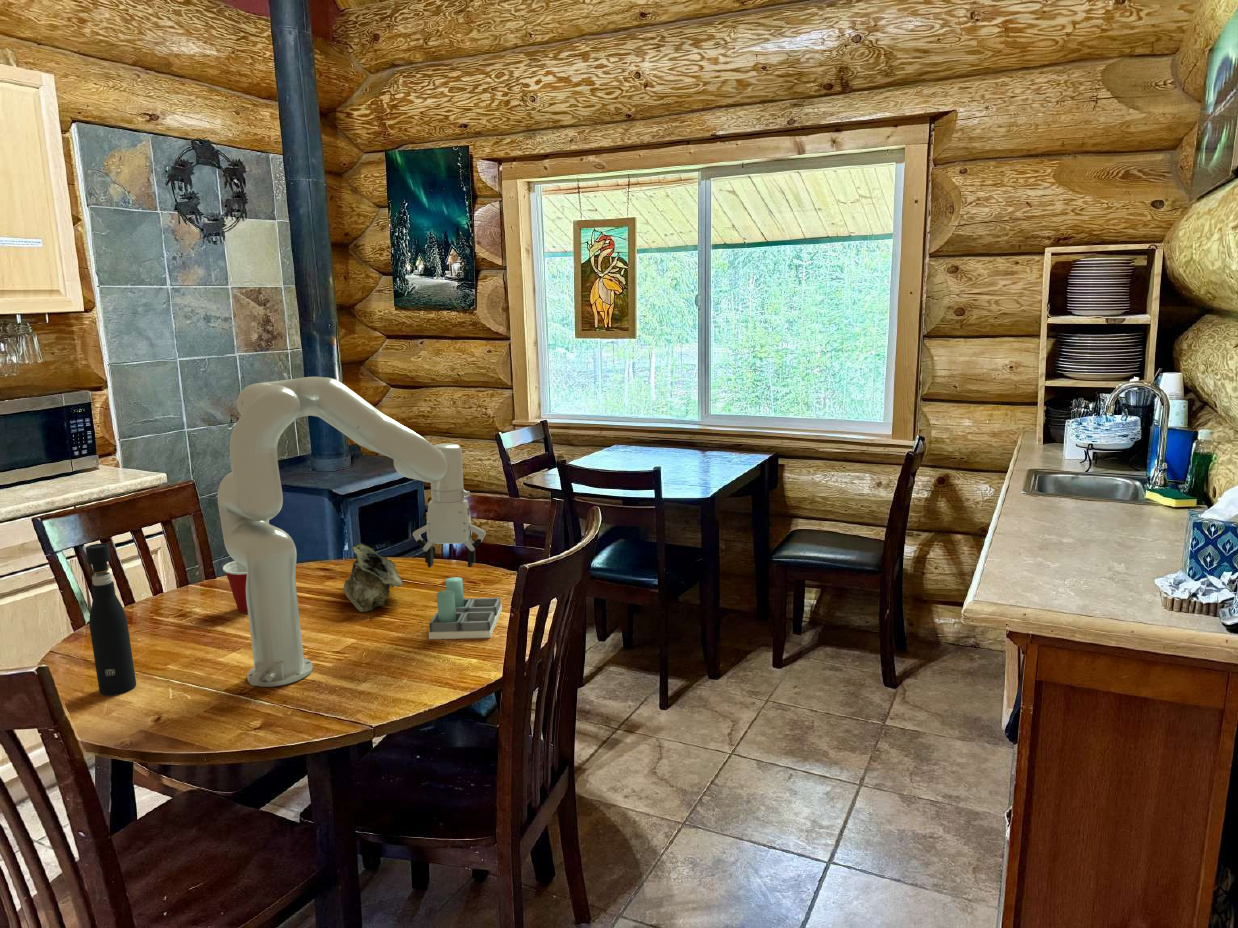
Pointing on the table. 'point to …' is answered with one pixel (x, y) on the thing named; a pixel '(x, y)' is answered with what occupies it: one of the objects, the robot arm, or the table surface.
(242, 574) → the plastic cup
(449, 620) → the pin board
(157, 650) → the table surface
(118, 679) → the black water bottle
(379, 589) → the hollow geode rock
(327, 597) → the table surface
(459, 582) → the teal peg
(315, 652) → the table surface
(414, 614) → the table surface
